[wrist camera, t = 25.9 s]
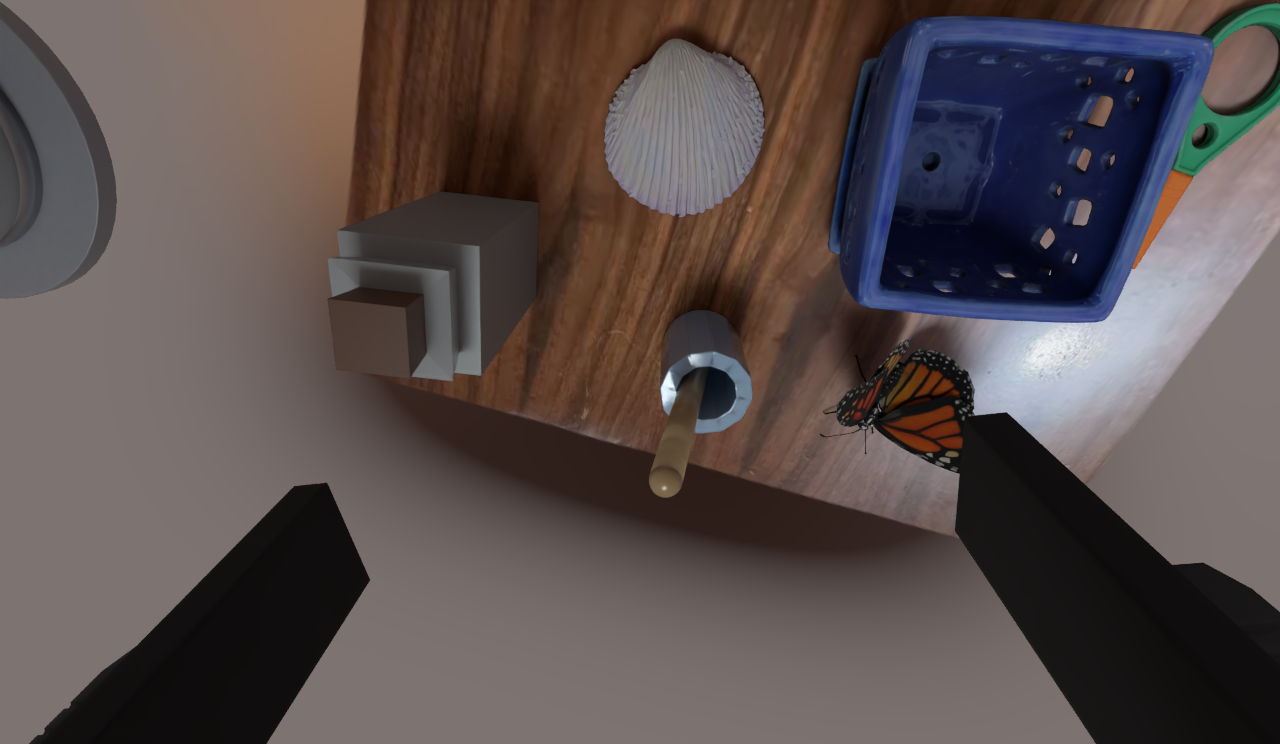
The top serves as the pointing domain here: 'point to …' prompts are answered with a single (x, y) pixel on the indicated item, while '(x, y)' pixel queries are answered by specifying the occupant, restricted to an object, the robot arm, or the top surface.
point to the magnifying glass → (1215, 121)
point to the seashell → (684, 129)
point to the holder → (702, 345)
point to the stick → (678, 435)
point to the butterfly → (914, 405)
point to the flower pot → (1008, 164)
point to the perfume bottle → (432, 285)
